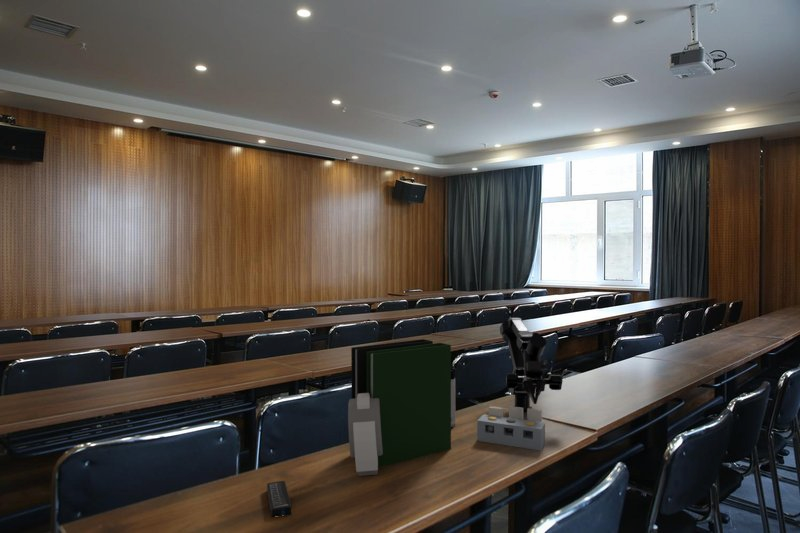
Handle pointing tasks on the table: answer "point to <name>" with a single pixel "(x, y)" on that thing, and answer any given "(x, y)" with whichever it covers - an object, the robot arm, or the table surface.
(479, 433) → the console
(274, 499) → the multiport hub
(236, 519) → the table surface
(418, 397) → the binder
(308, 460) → the table surface
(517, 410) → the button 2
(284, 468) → the table surface
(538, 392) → the robot arm
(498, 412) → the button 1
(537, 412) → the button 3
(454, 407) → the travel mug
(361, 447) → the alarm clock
